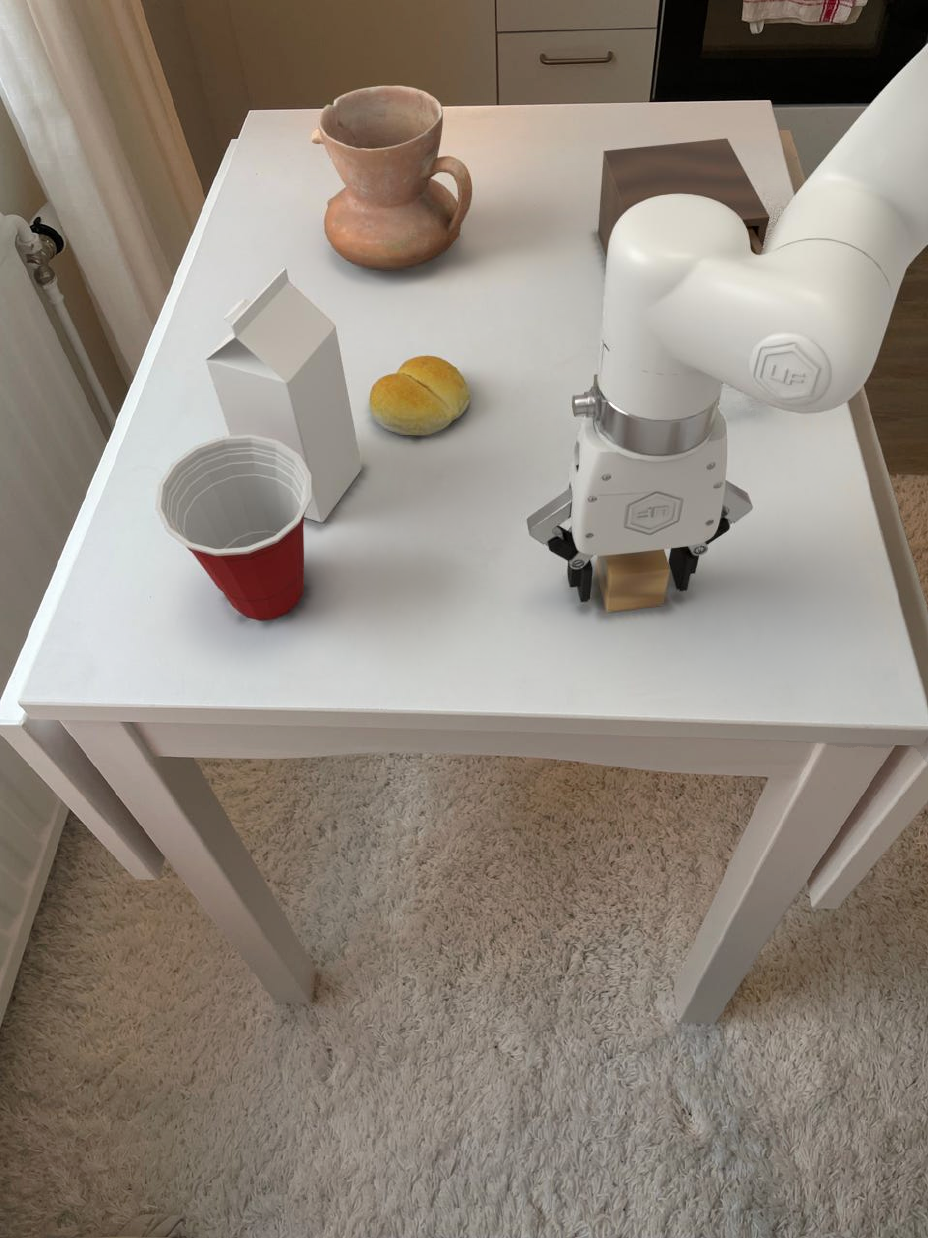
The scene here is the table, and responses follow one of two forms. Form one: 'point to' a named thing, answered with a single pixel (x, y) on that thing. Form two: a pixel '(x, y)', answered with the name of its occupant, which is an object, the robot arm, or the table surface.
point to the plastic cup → (242, 519)
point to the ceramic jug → (390, 178)
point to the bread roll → (420, 397)
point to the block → (633, 579)
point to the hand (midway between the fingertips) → (629, 581)
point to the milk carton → (289, 386)
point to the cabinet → (677, 181)
